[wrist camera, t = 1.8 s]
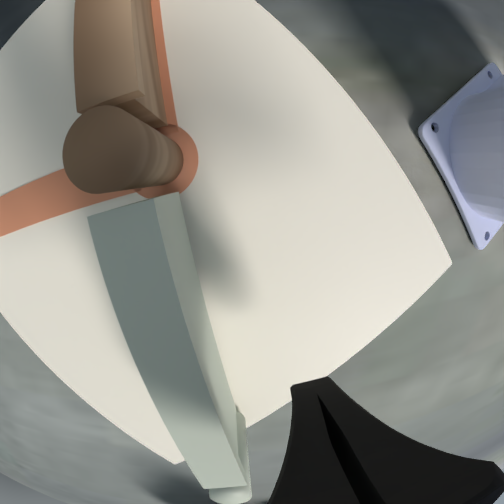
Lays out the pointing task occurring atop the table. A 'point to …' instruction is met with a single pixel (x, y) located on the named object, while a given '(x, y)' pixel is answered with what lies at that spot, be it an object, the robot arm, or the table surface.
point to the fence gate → (173, 338)
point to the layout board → (211, 211)
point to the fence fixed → (117, 101)
